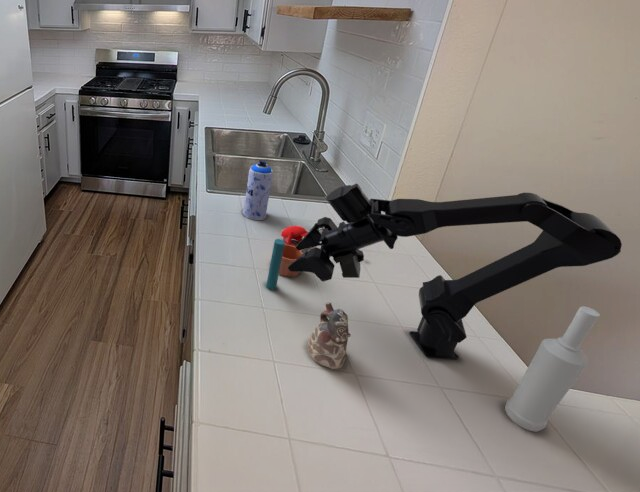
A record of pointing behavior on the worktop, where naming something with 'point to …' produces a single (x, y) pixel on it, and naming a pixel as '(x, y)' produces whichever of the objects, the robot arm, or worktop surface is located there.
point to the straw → (275, 264)
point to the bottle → (551, 374)
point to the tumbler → (289, 260)
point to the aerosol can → (258, 191)
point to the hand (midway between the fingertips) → (292, 258)
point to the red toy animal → (293, 234)
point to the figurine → (330, 338)
